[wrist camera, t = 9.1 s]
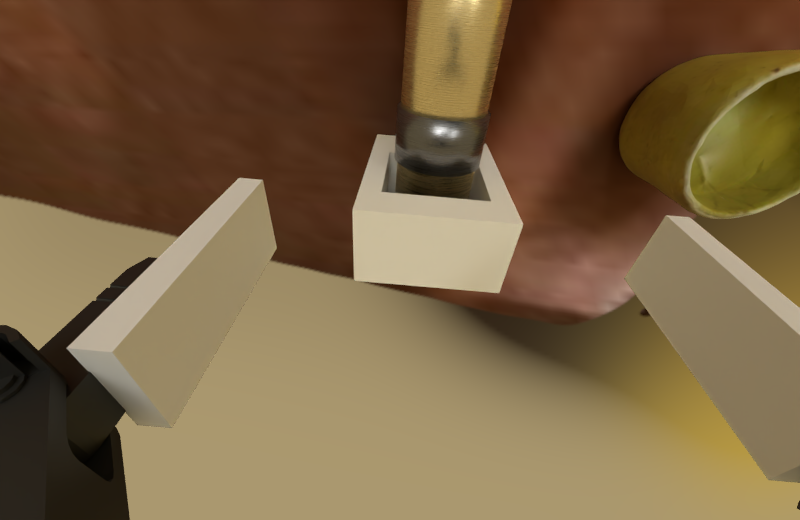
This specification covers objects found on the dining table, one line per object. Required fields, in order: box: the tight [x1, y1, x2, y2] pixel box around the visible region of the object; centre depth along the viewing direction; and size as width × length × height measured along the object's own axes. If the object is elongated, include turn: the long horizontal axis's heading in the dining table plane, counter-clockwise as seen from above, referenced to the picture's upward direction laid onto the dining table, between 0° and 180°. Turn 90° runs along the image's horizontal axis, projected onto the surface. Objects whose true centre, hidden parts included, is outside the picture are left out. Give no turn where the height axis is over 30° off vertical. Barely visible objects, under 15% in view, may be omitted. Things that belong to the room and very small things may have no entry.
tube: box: [394, 0, 512, 199], centre depth 18 cm, size 17×5×5 cm, turn 176°
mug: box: [619, 50, 800, 219], centre depth 22 cm, size 12×10×10 cm
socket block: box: [353, 134, 523, 293], centre depth 24 cm, size 5×9×12 cm, turn 86°
